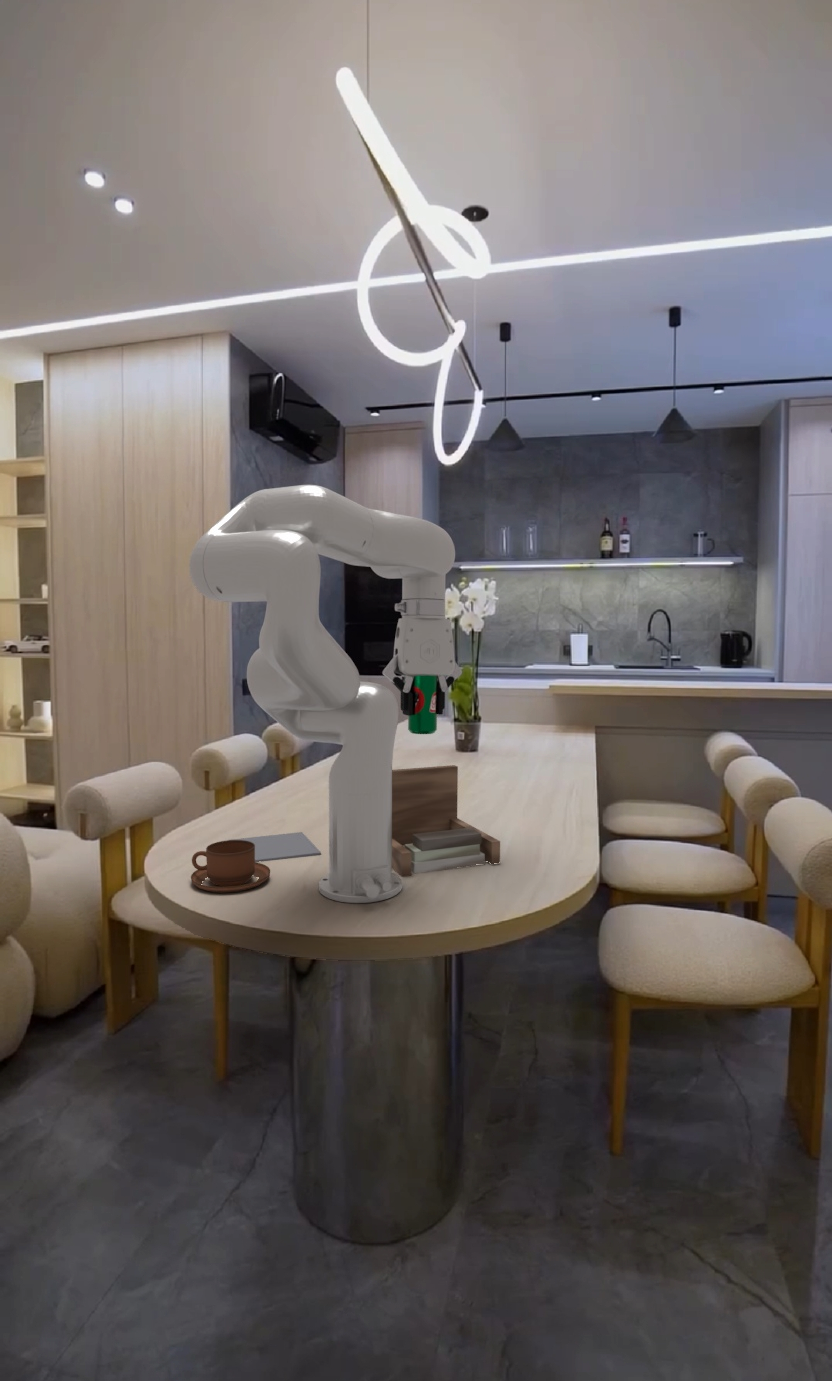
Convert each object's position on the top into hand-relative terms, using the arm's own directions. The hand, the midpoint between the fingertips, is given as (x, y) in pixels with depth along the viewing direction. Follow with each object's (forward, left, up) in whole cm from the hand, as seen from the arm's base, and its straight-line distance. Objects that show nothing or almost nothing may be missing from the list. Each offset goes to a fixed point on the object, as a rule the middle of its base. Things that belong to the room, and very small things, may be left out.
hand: (422, 713), depth 125 cm
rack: (-2, -1, -25) cm, 25 cm away
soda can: (0, 0, -4) cm, 4 cm away
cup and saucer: (-3, +34, -26) cm, 43 cm away
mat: (+12, +24, -25) cm, 37 cm away
